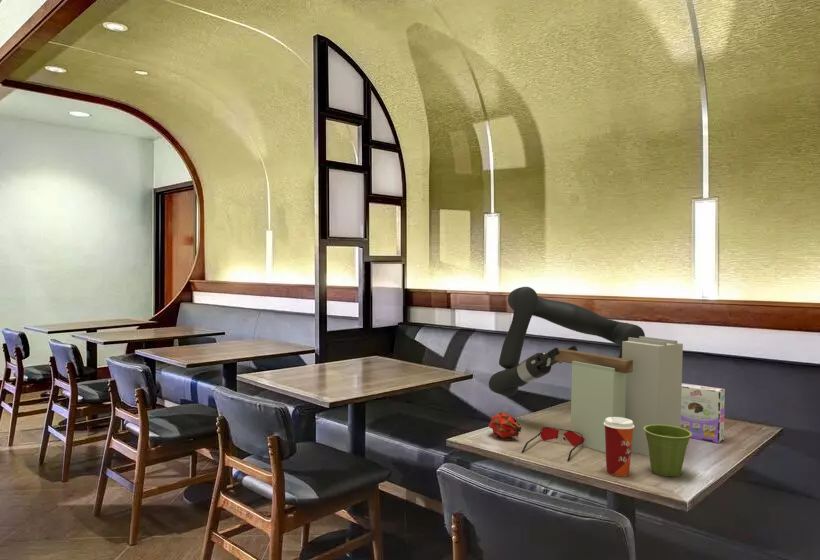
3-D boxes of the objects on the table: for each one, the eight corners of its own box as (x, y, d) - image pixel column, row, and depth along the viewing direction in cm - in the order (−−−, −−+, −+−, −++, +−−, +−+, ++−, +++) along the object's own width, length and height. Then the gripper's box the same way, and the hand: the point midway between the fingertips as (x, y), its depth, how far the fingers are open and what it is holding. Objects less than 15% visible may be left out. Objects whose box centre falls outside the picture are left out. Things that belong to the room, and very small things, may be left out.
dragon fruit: (491, 436, 192) (518, 451, 183) (477, 425, 187) (504, 440, 178) (505, 414, 194) (532, 428, 185) (492, 402, 189) (519, 416, 180)
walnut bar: (562, 359, 191) (562, 348, 191) (632, 372, 170) (632, 360, 170) (554, 360, 189) (554, 349, 189) (625, 373, 168) (625, 361, 168)
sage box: (583, 438, 186) (584, 359, 185) (624, 451, 174) (626, 366, 173) (570, 441, 183) (572, 361, 182) (611, 454, 170) (613, 368, 170)
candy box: (724, 440, 187) (726, 388, 186) (718, 444, 183) (720, 391, 182) (679, 431, 196) (680, 381, 196) (672, 434, 192) (674, 384, 191)
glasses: (585, 448, 178) (585, 431, 178) (568, 463, 164) (569, 445, 164) (540, 440, 185) (540, 424, 185) (520, 454, 171) (521, 437, 171)
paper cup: (629, 480, 151) (631, 425, 150) (599, 474, 155) (600, 420, 154) (636, 471, 157) (637, 418, 157) (606, 465, 161) (607, 414, 161)
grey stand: (643, 441, 184) (646, 335, 183) (679, 451, 174) (682, 340, 173) (619, 447, 177) (622, 338, 176) (656, 458, 168) (659, 342, 167)
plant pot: (641, 476, 153) (642, 433, 153) (643, 462, 164) (644, 422, 164) (691, 483, 149) (692, 439, 148) (690, 469, 159) (691, 427, 159)
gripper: (514, 359, 196) (547, 339, 185) (544, 355, 205) (577, 337, 193) (522, 380, 193) (556, 362, 182) (552, 376, 202) (586, 358, 190)
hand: (567, 349), depth 187 cm, fingers open, 8 cm apart
